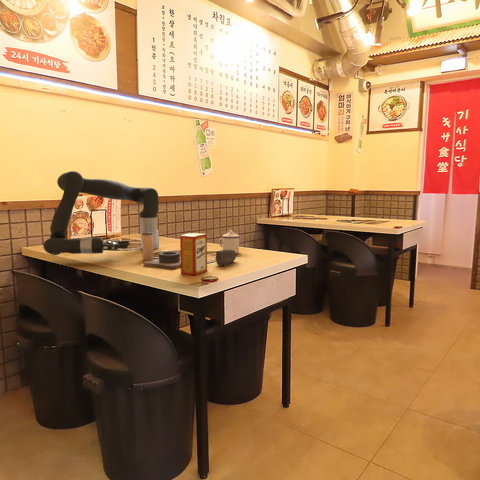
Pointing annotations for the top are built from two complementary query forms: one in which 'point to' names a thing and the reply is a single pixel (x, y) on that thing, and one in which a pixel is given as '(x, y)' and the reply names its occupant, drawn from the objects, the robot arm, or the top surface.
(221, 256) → the perforated stone tool
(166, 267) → the socket board
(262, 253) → the top surface
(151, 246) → the tan cylinder
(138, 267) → the top surface
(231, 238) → the teacup with lid
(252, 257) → the top surface
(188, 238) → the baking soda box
